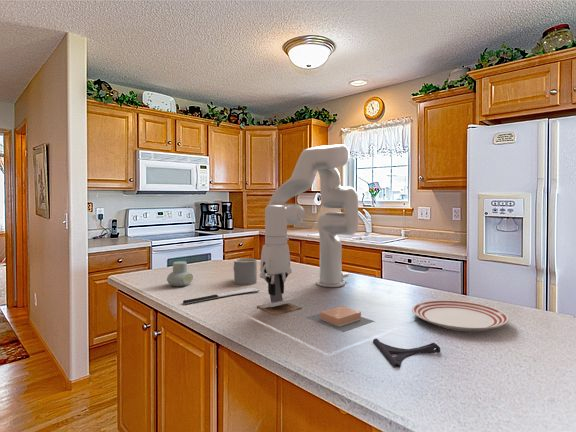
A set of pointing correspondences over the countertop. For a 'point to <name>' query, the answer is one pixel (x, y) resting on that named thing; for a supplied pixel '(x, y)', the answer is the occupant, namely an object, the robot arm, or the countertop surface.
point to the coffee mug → (245, 271)
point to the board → (280, 308)
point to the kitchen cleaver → (218, 296)
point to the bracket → (403, 351)
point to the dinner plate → (460, 315)
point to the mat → (344, 327)
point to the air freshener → (180, 274)
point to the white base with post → (278, 295)
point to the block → (340, 315)
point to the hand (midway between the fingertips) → (276, 293)
